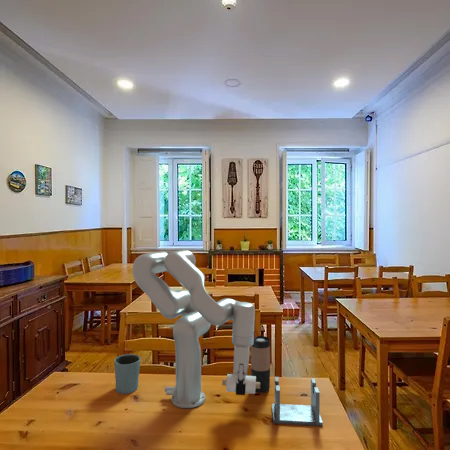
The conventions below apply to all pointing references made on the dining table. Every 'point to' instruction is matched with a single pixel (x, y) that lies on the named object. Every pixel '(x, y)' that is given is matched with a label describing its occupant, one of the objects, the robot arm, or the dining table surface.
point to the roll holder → (297, 409)
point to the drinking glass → (127, 373)
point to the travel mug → (261, 362)
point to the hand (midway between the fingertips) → (240, 389)
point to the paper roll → (249, 381)
